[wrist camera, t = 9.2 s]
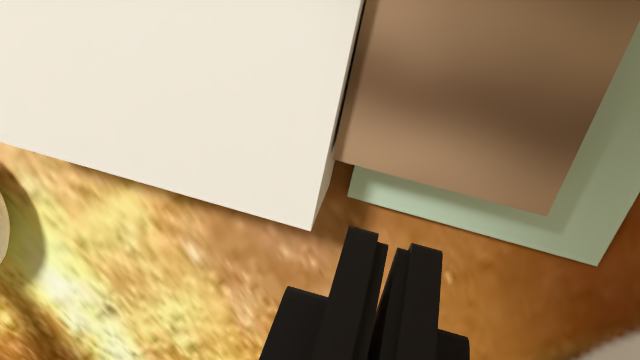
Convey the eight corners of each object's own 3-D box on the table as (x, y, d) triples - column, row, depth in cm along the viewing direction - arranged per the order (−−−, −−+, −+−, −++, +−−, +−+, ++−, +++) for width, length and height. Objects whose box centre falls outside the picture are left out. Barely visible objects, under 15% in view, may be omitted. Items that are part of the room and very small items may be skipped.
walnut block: (389, -77, 22) (380, -67, 20) (634, -22, 21) (651, -5, 19) (343, 133, 27) (332, 159, 25) (541, 185, 26) (546, 216, 24)
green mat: (444, -188, 21) (443, -188, 20) (803, -111, 20) (811, -108, 19) (349, 190, 29) (347, 196, 29) (594, 258, 28) (596, 266, 28)
